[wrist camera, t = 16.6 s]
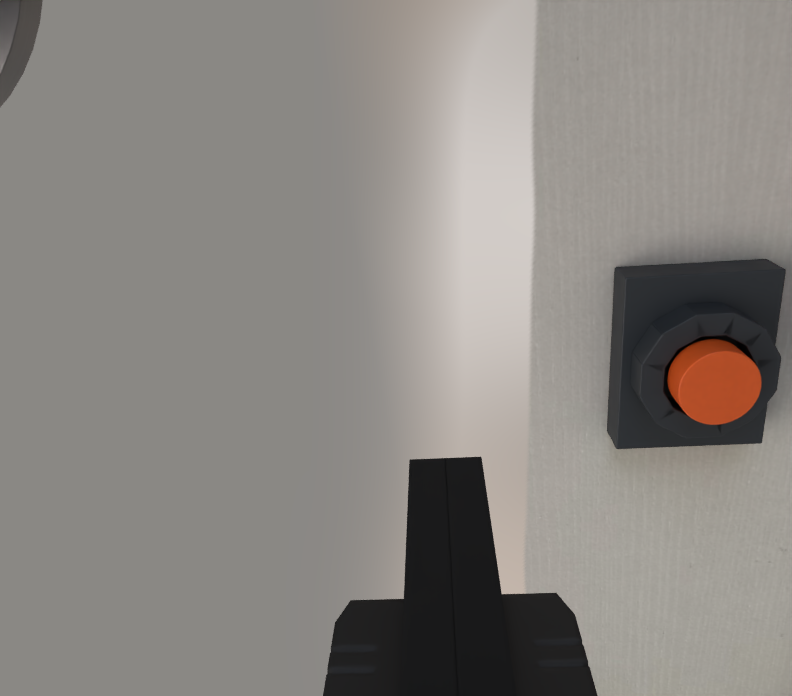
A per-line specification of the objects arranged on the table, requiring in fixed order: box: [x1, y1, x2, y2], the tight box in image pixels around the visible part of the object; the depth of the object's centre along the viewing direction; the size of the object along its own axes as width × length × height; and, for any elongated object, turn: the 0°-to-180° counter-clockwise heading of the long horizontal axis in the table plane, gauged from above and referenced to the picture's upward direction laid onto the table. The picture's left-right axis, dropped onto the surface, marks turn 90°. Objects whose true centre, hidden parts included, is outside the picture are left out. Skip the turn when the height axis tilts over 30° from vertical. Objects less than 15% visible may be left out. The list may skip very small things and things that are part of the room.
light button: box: [667, 339, 762, 425], centre depth 35 cm, size 4×4×2 cm
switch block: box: [607, 259, 786, 449], centre depth 37 cm, size 10×8×4 cm
